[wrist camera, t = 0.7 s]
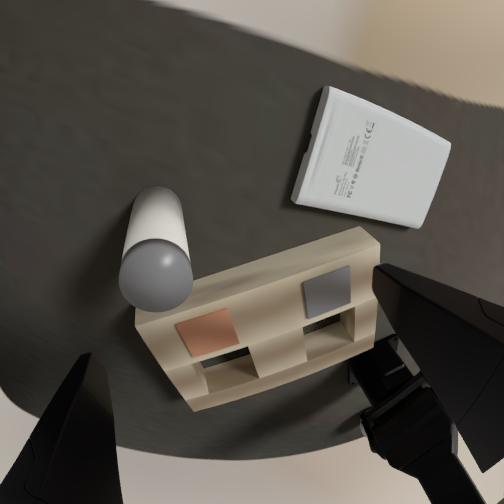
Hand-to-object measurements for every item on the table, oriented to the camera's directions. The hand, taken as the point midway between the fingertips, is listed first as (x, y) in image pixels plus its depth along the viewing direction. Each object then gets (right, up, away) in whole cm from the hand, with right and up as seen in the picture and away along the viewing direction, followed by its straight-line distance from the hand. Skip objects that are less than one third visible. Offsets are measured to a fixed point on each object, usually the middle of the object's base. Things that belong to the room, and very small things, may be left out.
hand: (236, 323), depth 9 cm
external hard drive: (+10, +9, +14) cm, 19 cm away
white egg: (+20, -23, +35) cm, 46 cm away
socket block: (+2, -3, +18) cm, 18 cm away
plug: (-6, +5, +11) cm, 13 cm away
